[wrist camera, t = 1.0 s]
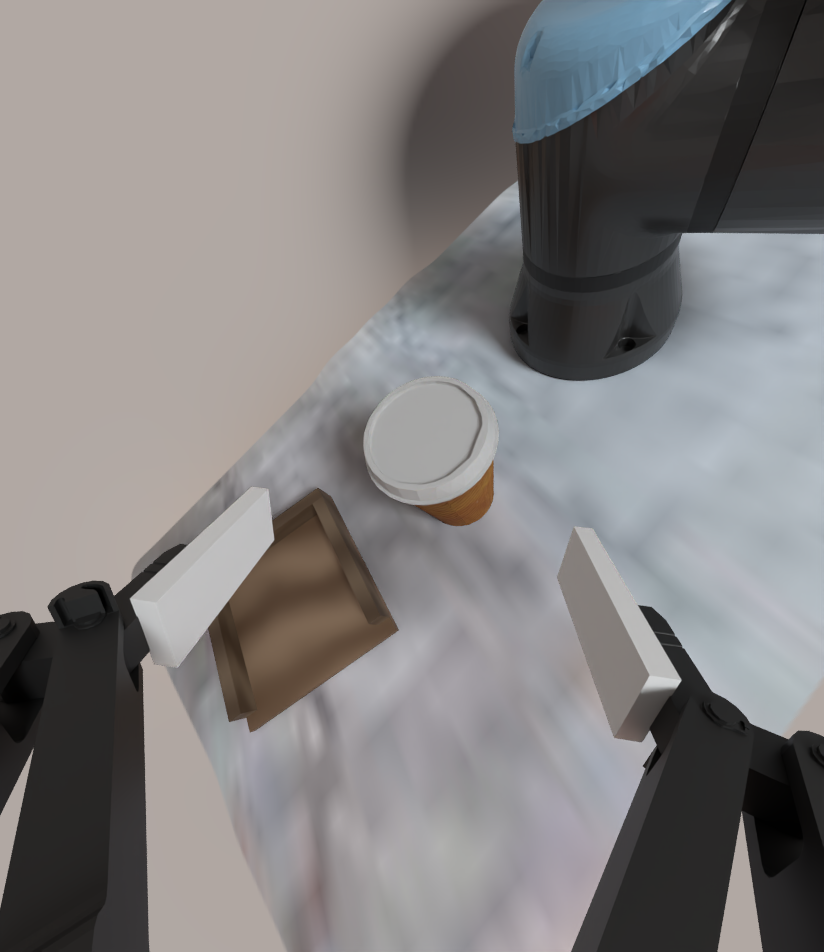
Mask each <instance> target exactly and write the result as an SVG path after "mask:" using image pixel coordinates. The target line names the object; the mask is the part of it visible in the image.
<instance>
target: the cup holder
mask: <svg viewBox="0 0 824 952" xmlns="http://www.w3.org/2000/svg"><path fill="white" fill-rule="evenodd" d="M272 525H273V533H274V541H273V542H272V544H271V545H270V546H269V548H268V549H267V550H266V552H265V553H264V554H263V555H262V557H261V558H260V559H259V561H258V562H257V563H256V565H255V566H254V567H253V569H252V570H251V571H250V573H249V574H248V575H247V577H246V578H245V579H244V581H243V582H242V583H241V585H240V586H239V587H238V589H237V590H236V591H235V593H234V594H233V595H232V597H231V598H230V599H229V601H228V602H227V603H226V604H225V606H224V607H223V608H222V610H221V611H220V612H219V614H218V615H217V616H216V618H215V619H214V620H213V622H212V623H211V624H210V626H209V627H208V629H209V634H210V638H211V643H212V647H213V652H214V656H215V661H216V665H217V670H218V674H219V679H220V683H221V688H222V692H223V697H224V701H225V706H226V710H227V715H228V719H229V722H231V721H235V720H239V719H243V718H247V722H248V726H249V730H250V732H253V731H255V730H257V729H258V728H260V727H261V726H263V725H264V724H265V723H267V722H268V721H270V720H271V719H273V718H274V717H275V716H277V715H278V714H280V713H281V712H283V711H284V710H285V709H287V708H288V707H290V706H291V705H293V704H294V703H295V702H297V701H298V700H300V699H301V698H303V697H304V696H305V695H307V694H308V693H310V692H311V691H313V690H314V689H315V688H317V687H318V686H320V685H321V684H323V683H324V682H325V681H327V680H328V679H330V678H331V677H333V676H334V675H335V674H337V673H338V672H340V671H341V670H343V669H344V668H345V667H347V666H348V665H350V664H351V663H353V662H354V661H355V660H357V659H358V658H360V657H361V656H363V655H364V654H365V653H367V652H368V651H370V650H371V649H373V648H374V647H376V646H377V645H378V644H380V643H381V642H383V641H384V640H386V639H387V638H388V637H390V636H391V635H393V634H394V633H396V632H397V631H398V628H397V626H396V624H395V622H394V620H393V618H392V616H391V614H390V612H389V610H388V608H387V606H386V604H385V602H384V600H383V598H382V596H381V594H380V592H379V590H378V588H377V586H376V584H375V582H374V580H373V578H372V576H371V574H370V572H369V570H368V568H367V567H366V565H365V563H364V561H363V559H362V557H361V555H360V553H359V551H358V549H357V547H356V545H355V543H354V541H353V539H352V537H351V535H350V533H349V531H348V529H347V527H346V525H345V523H344V521H343V519H342V517H341V515H340V513H339V511H338V509H337V507H336V505H335V503H334V501H333V499H332V498H331V496H329V495H328V494H326V493H325V492H323V491H322V490H320V489H319V488H317V489H315V490H314V491H313V492H311V493H310V494H308V495H307V496H306V497H304V498H303V499H302V500H300V501H299V502H297V503H296V504H295V505H293V506H292V507H290V508H289V509H288V510H286V511H285V512H284V513H282V514H281V515H279V516H278V517H277V518H275V519H274V520H272Z"/></svg>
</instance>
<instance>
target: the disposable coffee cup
mask: <svg viewBox="0 0 824 952" xmlns="http://www.w3.org/2000/svg"><path fill="white" fill-rule="evenodd" d="M498 442H499V429H498V422H497V419H496V416H495V412H494V411H493V409H492V407H491V406H490V404H489V402H488V401H487V400H486V399H485V398H484V397H483V396H482V395H481V394H480V393H478V392H476V391H475V390H474V389H472V388H471V387H470V386H468V385H467V384H466V383H463V382H461V381H459V380H457V379H454V378H449V377H442V376H433V377H424V378H420V379H416V380H413V381H410V382H408V383H406V384H404V385H402V386H400V387H398V388H396V389H395V390H394V391H392V392H391V393H389V394H388V395H387V396H386V397H385V398H384V399H383V400H382V401H381V402H380V403H379V405H378V406H377V407H376V409H375V410H374V412H373V413H372V414H371V416H370V418H369V420H368V423H367V425H366V429H365V432H364V443H363V448H364V454H365V463H366V467H367V471H368V473H369V475H370V477H371V479H372V480H373V482H374V483H375V484H376V486H377V487H378V488H379V489H380V490H381V491H383V492H384V493H385V494H387V495H388V496H389V497H391V498H393V499H395V500H398V501H400V502H403V503H407V504H411V505H415V506H416V507H418V508H420V509H422V510H423V511H425V512H427V513H428V514H430V515H432V516H434V517H435V518H437V519H439V520H440V521H442V522H443V523H446V524H449V525H453V526H464V525H469V524H471V523H473V522H475V521H477V520H479V519H480V518H482V516H483V515H484V514H485V513H486V512H487V511H488V509H489V508H490V506H491V503H492V501H493V495H494V491H493V478H494V476H493V458H494V456H495V454H496V450H497V446H498Z"/></svg>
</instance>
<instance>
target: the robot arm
mask: <svg viewBox="0 0 824 952" xmlns="http://www.w3.org/2000/svg"><path fill="white" fill-rule="evenodd" d="M513 137H514V140H515V142H516V155H517V171H518V186H519V201H520V215H521V230H522V243H523V265H522V269H521V272H520V275H519V279H518V282H517V286H516V289H515V293H514V296H513V299H512V303H511V307H510V314H509V324H510V333H511V340H512V343H513V346H514V348H515V350H516V352H517V353H518V355H519V356H520V357H521V358H522V360H523V361H525V362H526V363H527V364H528V365H529V366H531V367H532V368H534V369H536V370H537V371H539V372H542V373H544V374H546V375H549V376H553V377H557V378H561V379H568V380H593V379H600V378H606V377H610V376H614V375H617V374H620V373H623V372H625V371H628V370H630V369H632V368H634V367H636V366H638V365H640V364H641V363H643V362H645V361H646V360H648V359H649V358H650V357H651V356H653V355H654V354H655V353H656V352H657V351H658V350H659V349H660V348H661V347H662V346H663V344H664V343H665V342H666V340H667V339H668V337H669V335H670V334H671V331H672V329H673V327H674V324H675V322H676V319H677V317H678V314H679V311H680V307H681V301H682V286H681V272H680V259H679V242H680V239H681V235H682V233H782V234H824V0H542V1H541V3H540V4H539V5H538V7H537V8H536V10H535V11H534V13H533V14H532V16H531V17H530V19H529V21H528V22H527V24H526V26H525V28H524V30H523V33H522V35H521V38H520V41H519V44H518V47H517V53H516V58H515V119H514V124H513ZM273 541H274V533H273V525H272V516H271V508H270V499H269V491H268V489H266V488H258V487H251V488H250V489H248V490H247V491H246V492H245V493H244V494H243V495H242V496H241V497H240V498H239V499H238V500H236V501H235V502H234V503H233V504H232V505H231V506H230V507H229V508H228V509H227V510H226V511H225V512H223V513H222V514H221V515H220V516H219V517H218V518H217V519H216V520H215V521H214V522H213V523H211V524H210V525H209V526H208V527H207V528H206V529H205V530H204V531H203V532H202V533H201V534H200V535H198V536H197V537H196V538H195V539H194V540H193V541H192V542H191V543H190V544H189V545H184V544H179V545H177V546H175V547H173V548H172V549H170V550H168V551H166V552H164V553H163V554H162V555H161V556H160V557H159V558H157V559H156V560H155V561H154V562H153V564H151V565H149V566H148V567H147V568H146V569H145V570H144V572H141V573H140V574H139V575H138V576H137V577H136V578H134V579H133V580H132V581H131V582H130V583H129V584H128V585H126V587H124V588H123V589H122V590H121V591H119V592H118V593H117V594H116V595H115V596H114V595H113V593H112V590H111V588H110V585H109V584H108V583H106V582H104V581H90V582H84V583H80V584H78V585H75V586H72V587H70V588H68V589H66V590H64V591H63V592H61V593H59V594H58V595H57V596H56V597H55V598H54V599H52V600H51V602H50V604H49V605H48V609H49V611H50V613H51V615H52V617H53V619H54V621H55V622H46V623H38V624H35V622H34V621H33V619H32V617H31V615H30V614H29V613H26V612H23V611H20V612H10V613H6V614H2V615H0V815H1V813H2V811H3V808H4V806H5V804H6V802H7V800H8V798H9V796H10V794H11V792H12V790H13V788H14V786H15V784H16V782H17V780H18V778H19V776H20V774H21V772H22V770H23V768H24V766H25V764H26V762H27V760H28V757H29V756H30V753H31V751H32V749H33V747H34V750H33V755H32V760H31V764H30V769H29V774H28V779H27V783H26V788H25V793H24V798H23V803H22V807H21V812H20V817H19V822H18V826H17V831H16V836H15V841H14V845H13V850H12V855H11V860H10V865H9V870H8V874H7V879H6V884H5V889H4V894H3V898H2V903H1V908H0V952H149V935H148V893H147V892H148V889H147V846H146V845H147V844H146V801H145V757H144V756H145V754H144V710H143V669H142V667H141V664H140V662H141V661H142V659H143V658H144V657H145V656H146V655H147V654H148V653H149V652H150V654H151V657H152V660H153V662H154V664H156V665H162V666H169V667H175V668H178V667H179V665H180V664H181V663H182V661H183V660H184V659H185V657H186V656H187V655H188V653H189V652H190V651H191V650H192V648H193V647H194V646H195V644H196V643H197V642H198V640H199V639H200V638H201V636H202V635H203V634H204V632H205V631H206V630H207V628H208V627H209V626H210V624H211V623H212V622H213V620H214V619H215V618H216V616H217V615H218V614H219V612H220V611H221V610H222V608H223V607H224V606H225V604H226V603H227V602H228V601H229V599H230V598H231V597H232V595H233V594H234V593H235V591H236V590H237V589H238V587H239V586H240V585H241V583H242V582H243V581H244V579H245V578H246V577H247V575H248V574H249V573H250V571H251V570H252V569H253V567H254V566H255V565H256V563H257V562H258V561H259V559H260V558H261V557H262V555H263V554H264V553H265V552H266V550H267V549H268V548H269V546H270V545H271V544H272V542H273ZM557 579H558V581H559V584H560V587H561V590H562V593H563V595H564V598H565V601H566V604H567V607H568V610H569V612H570V615H571V618H572V621H573V624H574V626H575V629H576V632H577V635H578V638H579V640H580V643H581V646H582V649H583V652H584V654H585V657H586V660H587V663H588V666H589V668H590V671H591V674H592V677H593V680H594V683H595V685H596V688H597V691H598V694H599V697H600V699H601V702H602V705H603V708H604V711H605V713H606V716H607V719H608V722H609V725H610V727H611V730H612V733H613V736H614V738H618V739H625V740H631V741H637V742H642V741H643V740H644V738H645V737H646V735H647V734H648V732H649V731H651V733H652V735H653V738H654V740H655V742H656V744H657V746H656V747H655V749H654V750H653V752H652V753H651V755H650V756H649V758H648V759H647V761H646V762H645V763H644V765H643V767H644V768H646V769H645V771H644V774H643V776H642V779H641V781H640V784H639V786H638V789H637V791H636V794H635V796H634V799H633V801H632V803H631V806H630V808H629V811H628V813H627V816H626V818H625V821H624V823H623V826H622V828H621V830H620V833H619V835H618V838H617V840H616V843H615V845H614V848H613V850H612V853H611V855H610V858H609V860H608V862H607V865H606V867H605V870H604V872H603V875H602V877H601V880H600V882H599V885H598V887H597V890H596V892H595V894H594V897H593V899H592V902H591V904H590V907H589V909H588V912H587V914H586V917H585V919H584V921H583V924H582V926H581V929H580V931H579V934H578V936H577V939H576V941H575V944H574V946H573V949H572V951H571V952H717V950H718V944H719V938H720V932H721V926H722V921H723V916H724V910H725V904H726V898H727V892H728V887H729V880H730V875H731V869H732V863H733V857H734V852H735V846H736V840H737V834H738V829H739V823H740V817H741V811H742V814H743V821H744V828H745V835H746V841H747V848H748V855H749V862H750V868H751V875H752V882H753V888H754V895H755V902H756V908H757V915H758V922H759V928H760V935H761V942H762V948H763V952H824V737H823V736H821V735H818V734H816V733H813V732H810V731H797V732H796V733H795V734H794V735H792V737H791V738H790V739H789V740H788V739H786V738H784V737H781V736H779V735H776V734H774V733H771V732H769V731H767V730H764V729H762V728H759V727H757V726H755V725H752V724H750V723H749V721H748V719H747V718H746V716H745V715H744V714H743V713H742V712H741V711H740V710H739V709H738V708H737V707H736V706H734V705H733V704H732V703H730V702H729V701H728V700H726V699H725V698H723V697H721V696H719V695H717V694H715V693H713V692H712V691H711V689H710V688H709V686H708V685H707V683H706V682H705V680H704V679H703V677H702V676H701V674H700V672H699V671H698V669H697V668H696V666H695V665H694V663H693V662H692V660H691V658H690V657H689V655H688V654H687V652H686V651H685V649H684V648H682V645H681V643H680V641H679V640H678V638H677V637H675V634H674V632H673V631H672V629H671V627H670V626H669V624H668V623H667V621H666V620H665V619H664V618H663V617H662V616H661V615H660V614H659V613H657V612H656V611H655V610H654V609H653V608H652V607H647V606H640V605H637V603H636V601H635V600H634V598H633V596H632V595H631V593H630V591H629V590H628V588H627V586H626V584H625V583H624V581H623V579H622V578H621V576H620V574H619V572H618V571H617V569H616V567H615V566H614V564H613V562H612V560H611V559H610V557H609V555H608V554H607V552H606V550H605V549H604V547H603V545H602V543H601V542H600V540H599V538H598V537H597V535H596V533H595V531H594V530H593V529H591V528H582V527H574V528H573V531H572V534H571V537H570V540H569V543H568V546H567V549H566V552H565V555H564V558H563V561H562V564H561V567H560V570H559V573H558V576H557Z"/></svg>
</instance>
